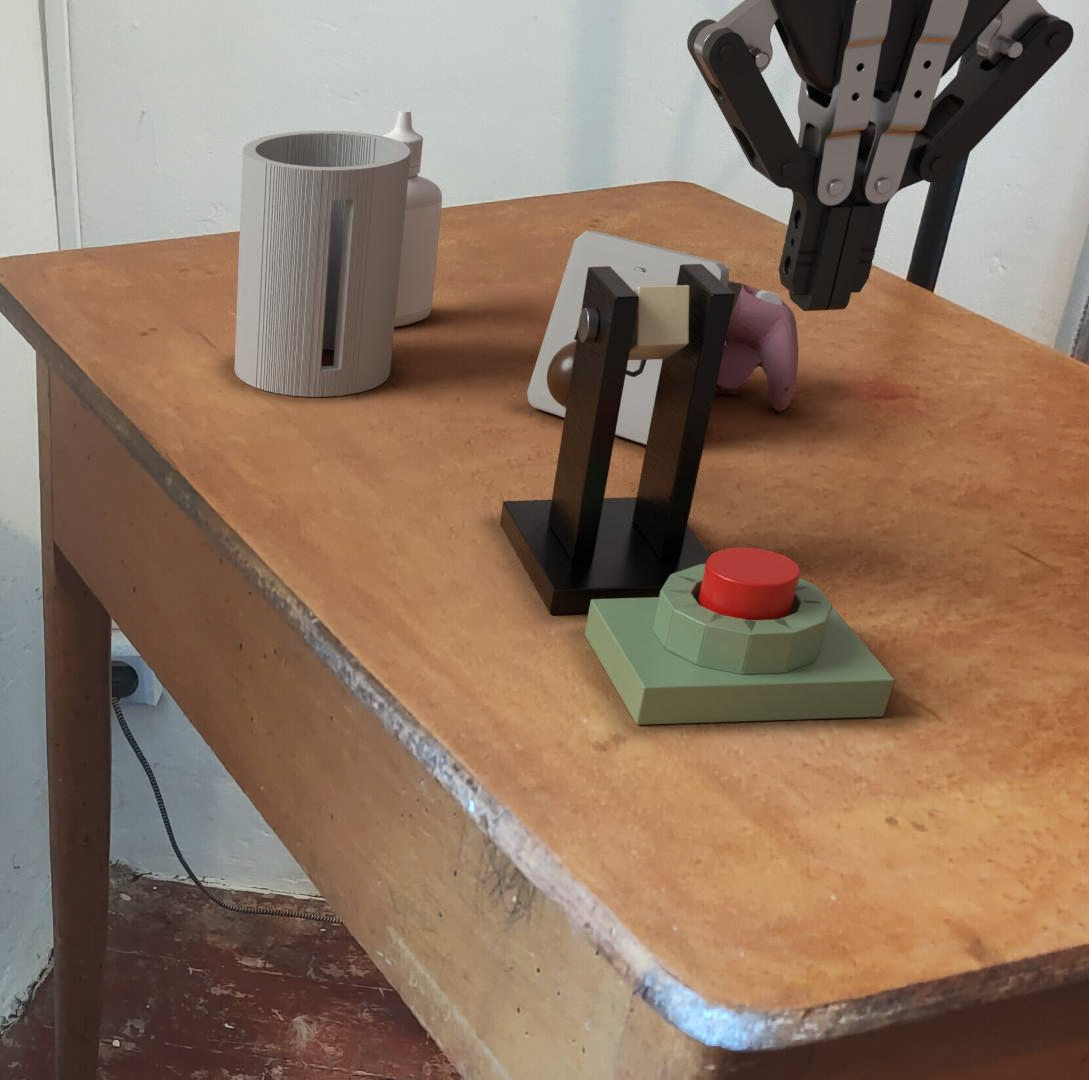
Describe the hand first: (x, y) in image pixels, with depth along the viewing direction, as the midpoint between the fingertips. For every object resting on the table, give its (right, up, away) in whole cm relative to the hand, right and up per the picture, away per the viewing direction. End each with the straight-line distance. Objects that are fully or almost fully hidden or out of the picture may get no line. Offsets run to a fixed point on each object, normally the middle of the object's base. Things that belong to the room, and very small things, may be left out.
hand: (817, 303), depth 65 cm
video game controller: (+8, +8, +34) cm, 36 cm away
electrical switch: (+2, +6, +32) cm, 32 cm away
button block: (0, -12, +8) cm, 15 cm away
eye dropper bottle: (-8, +17, +46) cm, 49 cm away
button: (0, -10, +6) cm, 12 cm away
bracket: (-3, -6, +17) cm, 18 cm away
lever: (-3, +2, +15) cm, 15 cm away
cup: (-14, +11, +38) cm, 42 cm away
